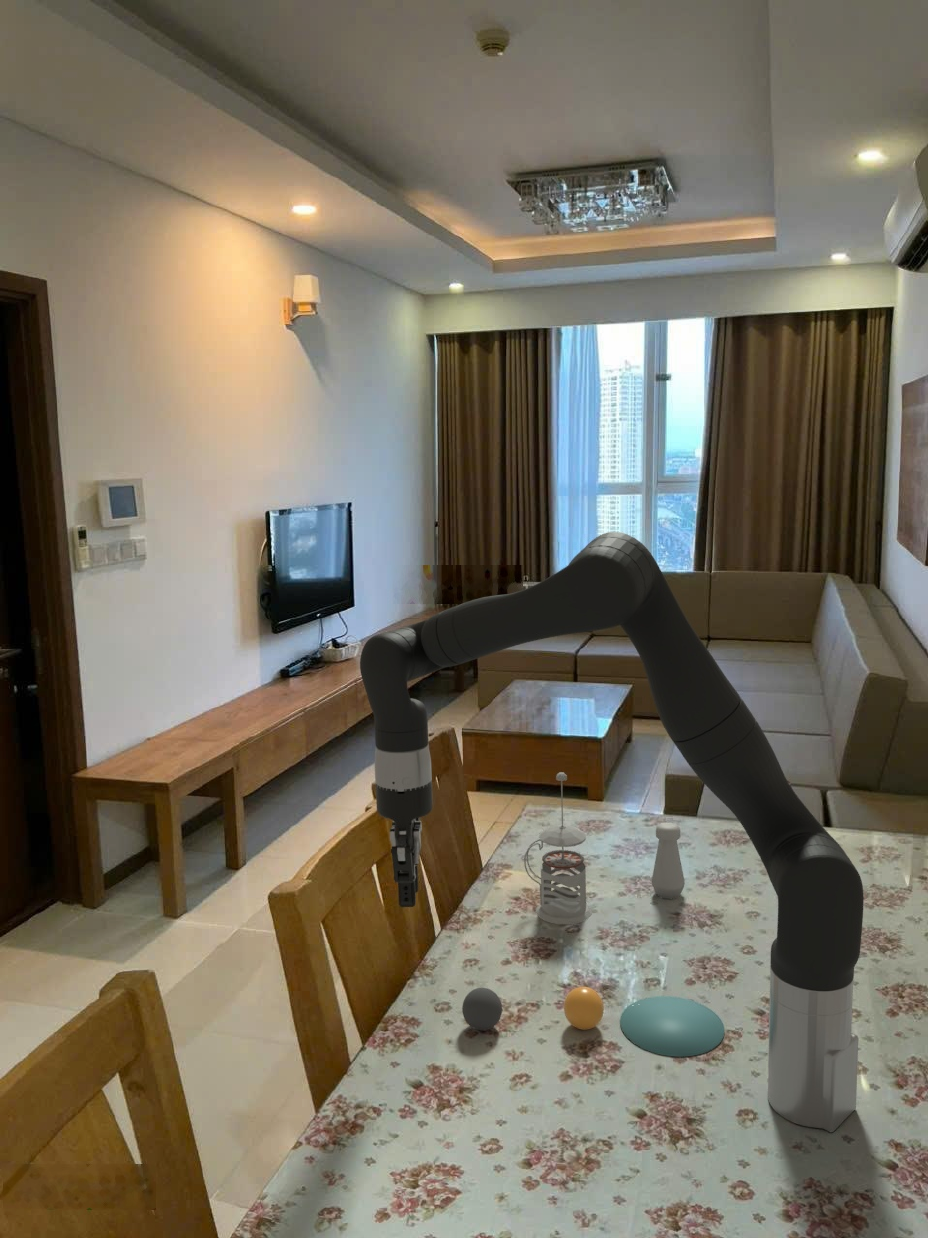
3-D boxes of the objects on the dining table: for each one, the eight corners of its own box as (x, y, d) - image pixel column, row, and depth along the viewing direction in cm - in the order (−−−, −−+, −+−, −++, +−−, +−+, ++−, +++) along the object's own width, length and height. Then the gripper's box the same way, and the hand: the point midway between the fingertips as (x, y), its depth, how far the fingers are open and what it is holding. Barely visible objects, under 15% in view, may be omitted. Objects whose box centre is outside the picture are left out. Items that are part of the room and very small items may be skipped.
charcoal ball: (510, 1027, 134) (509, 990, 133) (482, 1044, 130) (481, 1006, 129) (483, 1011, 138) (482, 975, 137) (454, 1027, 134) (453, 991, 133)
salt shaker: (661, 884, 176) (661, 816, 174) (690, 892, 173) (690, 823, 170) (645, 896, 172) (645, 826, 170) (675, 904, 168) (675, 833, 166)
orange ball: (612, 1026, 133) (611, 989, 132) (586, 1043, 129) (585, 1005, 128) (581, 1010, 137) (581, 974, 136) (555, 1026, 133) (555, 990, 132)
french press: (586, 927, 161) (584, 784, 157) (518, 919, 165) (515, 779, 161) (597, 901, 170) (595, 765, 166) (533, 894, 174) (530, 761, 170)
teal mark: (744, 1025, 132) (744, 1023, 132) (685, 1070, 123) (685, 1069, 123) (659, 986, 142) (659, 985, 142) (599, 1026, 133) (599, 1025, 133)
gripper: (381, 761, 135) (387, 877, 138) (368, 796, 121) (374, 924, 124) (435, 760, 135) (439, 876, 138) (427, 795, 121) (432, 923, 124)
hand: (408, 898), depth 131 cm, fingers open, 3 cm apart
